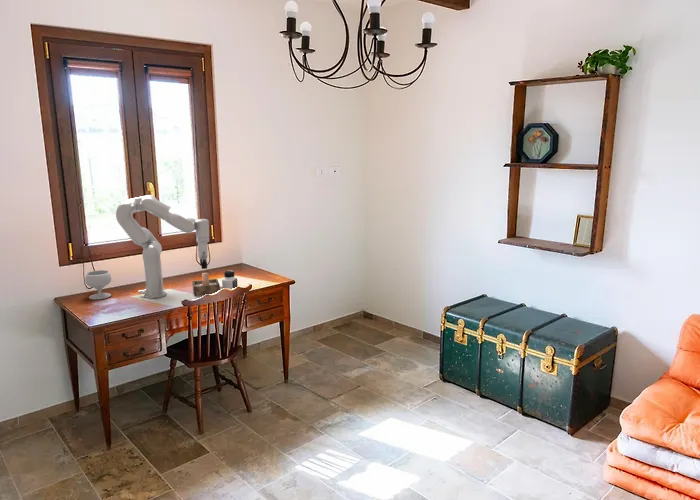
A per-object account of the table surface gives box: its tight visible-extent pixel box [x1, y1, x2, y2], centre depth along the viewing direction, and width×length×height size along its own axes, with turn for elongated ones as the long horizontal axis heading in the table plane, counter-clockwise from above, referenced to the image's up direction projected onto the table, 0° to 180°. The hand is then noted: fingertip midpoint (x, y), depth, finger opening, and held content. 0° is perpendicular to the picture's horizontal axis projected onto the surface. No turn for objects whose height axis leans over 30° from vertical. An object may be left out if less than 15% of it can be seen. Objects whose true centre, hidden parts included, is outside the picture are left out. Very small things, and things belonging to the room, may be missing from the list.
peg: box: [201, 272, 210, 286], centre depth 311 cm, size 4×4×12 cm
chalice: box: [84, 270, 112, 300], centre depth 301 cm, size 14×14×15 cm
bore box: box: [192, 278, 221, 297], centre depth 311 cm, size 15×14×6 cm
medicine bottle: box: [221, 270, 239, 289], centre depth 316 cm, size 7×7×12 cm
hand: (203, 266), depth 308 cm, fingers open, 9 cm apart
